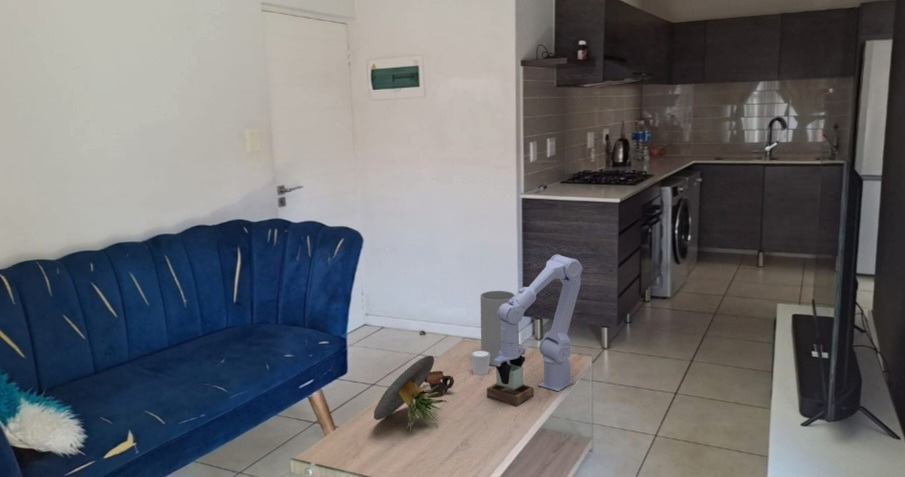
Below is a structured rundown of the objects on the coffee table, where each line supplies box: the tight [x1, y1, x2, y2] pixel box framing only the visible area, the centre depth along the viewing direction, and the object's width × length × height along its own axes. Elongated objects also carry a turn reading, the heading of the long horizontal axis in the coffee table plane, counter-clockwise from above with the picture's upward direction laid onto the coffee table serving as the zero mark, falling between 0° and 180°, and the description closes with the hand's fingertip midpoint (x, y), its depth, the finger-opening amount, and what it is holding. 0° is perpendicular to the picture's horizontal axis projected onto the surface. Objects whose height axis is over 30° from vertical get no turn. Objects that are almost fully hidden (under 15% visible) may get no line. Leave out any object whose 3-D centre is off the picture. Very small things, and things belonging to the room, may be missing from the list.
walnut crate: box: [486, 383, 534, 407], centre depth 228 cm, size 10×12×3 cm
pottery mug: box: [423, 370, 455, 398], centre depth 234 cm, size 12×10×8 cm
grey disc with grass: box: [373, 355, 448, 431], centre depth 209 cm, size 25×18×25 cm
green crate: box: [495, 364, 524, 390], centre depth 227 cm, size 5×7×6 cm
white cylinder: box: [470, 350, 490, 376], centre depth 249 cm, size 7×7×7 cm
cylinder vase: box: [480, 290, 516, 367], centre depth 259 cm, size 12×12×25 cm
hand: (510, 380), depth 227 cm, fingers closed on green crate, 5 cm apart
